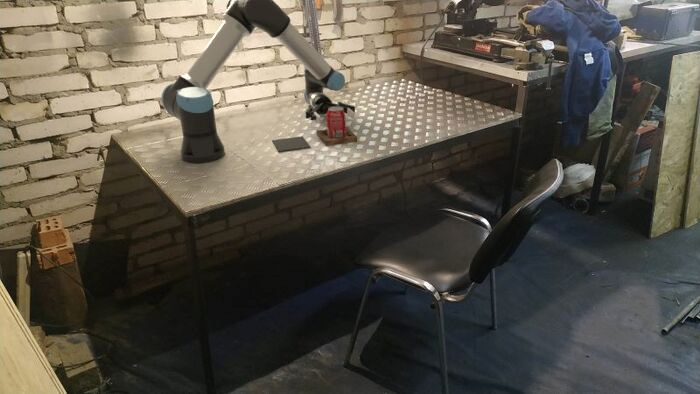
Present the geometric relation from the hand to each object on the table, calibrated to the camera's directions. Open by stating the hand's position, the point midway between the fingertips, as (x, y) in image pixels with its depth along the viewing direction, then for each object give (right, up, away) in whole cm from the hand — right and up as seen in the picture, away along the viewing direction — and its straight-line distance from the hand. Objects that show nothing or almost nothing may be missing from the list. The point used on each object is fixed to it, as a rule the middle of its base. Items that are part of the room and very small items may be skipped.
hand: (336, 118), depth 196 cm
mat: (-17, -10, -2) cm, 20 cm away
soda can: (0, -8, +3) cm, 8 cm away
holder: (0, -7, +3) cm, 8 cm away
